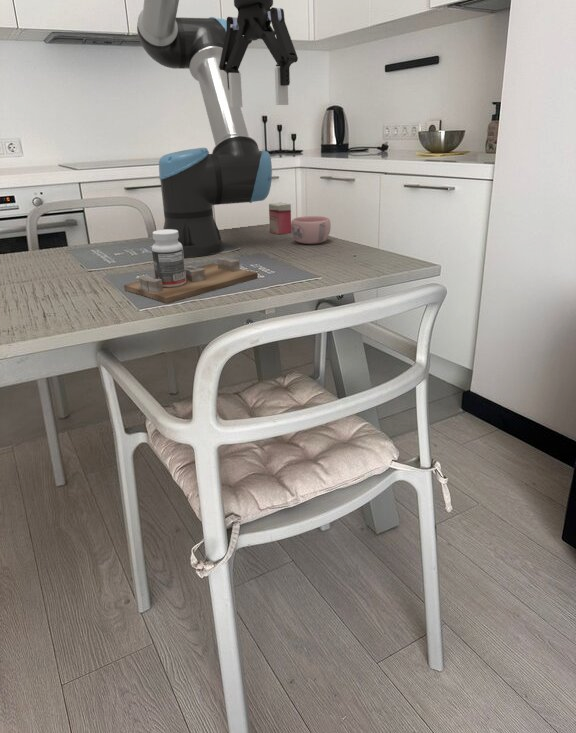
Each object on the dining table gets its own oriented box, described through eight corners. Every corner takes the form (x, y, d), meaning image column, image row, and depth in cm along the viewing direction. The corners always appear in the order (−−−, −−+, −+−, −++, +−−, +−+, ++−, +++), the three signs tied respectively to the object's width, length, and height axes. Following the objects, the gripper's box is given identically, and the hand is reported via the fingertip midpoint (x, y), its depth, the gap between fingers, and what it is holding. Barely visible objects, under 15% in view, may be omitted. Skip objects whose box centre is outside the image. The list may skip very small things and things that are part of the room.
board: (124, 290, 110) (122, 274, 109) (213, 267, 125) (212, 254, 124) (167, 303, 101) (165, 286, 100) (257, 277, 116) (256, 263, 115)
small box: (269, 232, 161) (268, 203, 158) (282, 230, 164) (280, 202, 160) (279, 235, 158) (278, 205, 154) (292, 233, 160) (291, 203, 157)
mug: (338, 242, 146) (338, 218, 144) (309, 248, 140) (308, 223, 138) (308, 236, 155) (307, 213, 152) (278, 241, 149) (278, 218, 147)
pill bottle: (158, 281, 112) (151, 229, 108) (187, 279, 112) (182, 228, 108) (154, 288, 107) (147, 235, 103) (185, 287, 107) (179, 233, 103)
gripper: (196, -8, 115) (205, 108, 123) (285, -33, 98) (289, 103, 107) (225, -4, 119) (232, 108, 128) (315, -27, 103) (316, 103, 112)
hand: (258, 106), depth 117 cm, fingers open, 13 cm apart
